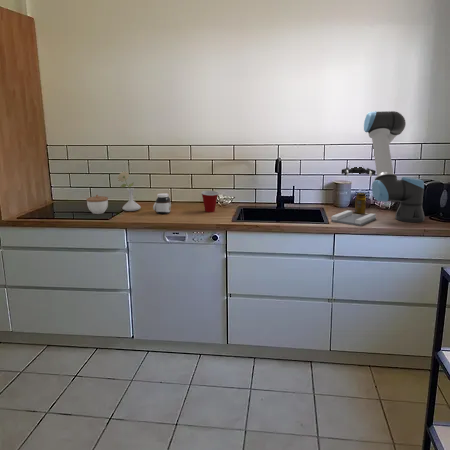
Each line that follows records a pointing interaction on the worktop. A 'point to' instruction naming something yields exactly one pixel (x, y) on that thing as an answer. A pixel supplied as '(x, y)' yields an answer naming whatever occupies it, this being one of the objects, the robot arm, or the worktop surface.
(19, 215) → the worktop surface
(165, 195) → the spread jar
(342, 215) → the grey tray with rails
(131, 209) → the flower in vase
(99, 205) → the lidded bowl
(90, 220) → the worktop surface
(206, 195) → the plastic cup
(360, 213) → the condiment
